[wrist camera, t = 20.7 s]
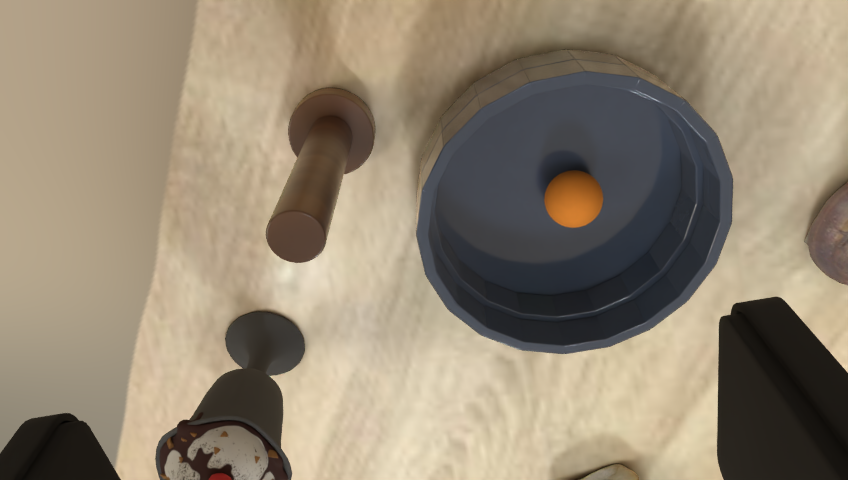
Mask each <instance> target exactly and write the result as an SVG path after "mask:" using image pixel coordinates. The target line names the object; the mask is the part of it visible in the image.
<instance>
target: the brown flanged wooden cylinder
mask: <svg viewBox="0 0 848 480" xmlns="http://www.w3.org/2000/svg"><path fill="white" fill-rule="evenodd" d="M288 135H289V141H290V145H291V147H292V150H293V152H294V153H295V155H296V156H297V160H296V162H295V165H294V167H293V169H292V171H291V174H290V176H289V178H288V180H287V183H286V185H285V187H284V189H283V192H282V194H281V196H280V198H279V201H278V203H277V205H276V207H275V210H274V212H273V214H272V216H271V219H270V221H269V223H268V225H267V229H266V239H267V242H268V244H269V246H270V248H271V250H272V251H273V252H274V253H275V254H276V255H277V256H279V257H280V258H282V259H284V260H286V261H289V262H295V263H302V262H307V261H310V260H312V259H314V258H316V257H317V256H318V255H319V254H320V253H321V252H322V251H323V249H324V247H325V244H326V240H327V236H328V232H329V228H330V225H331V221H332V217H333V213H334V209H335V205H336V202H337V198H338V194H339V190H340V186H341V182H342V179H343V175H344V174H347V173H350V172H352V171H354V170H356V169H357V168H359V167H360V166H361V165H362V164H363V163H364V162H365V161H366V160H367V159H368V157H369V155H370V154H371V151H372V148H373V144H374V139H375V123H374V119H373V116H372V114H371V112H370V110H369V108H368V107H367V106H366V104H365V103H364V102H363V101H362V100H361V99H360V98H358V97H357V96H356V95H354V94H352V93H350V92H348V91H345V90H342V89H337V88H325V89H320V90H317V91H314V92H312V93H310V94H309V95H307V96H306V97H305V98H303V99H302V101H301V102H300V103H299V104H298V106H297V107H296V109H295V111H294V113H293V115H292V117H291V119H290V122H289V128H288Z"/></svg>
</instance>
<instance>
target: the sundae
mask: <svg viewBox="0 0 848 480" xmlns="http://www.w3.org/2000/svg"><path fill="white" fill-rule="evenodd" d="M225 340H226V347H227V351H228V352H229V354H230V356H231V357H232V359H233V360H234V361H235V362H236V363H237V364H238V365H239V366H241V367H242V368H243V369H236V370H233V371H230V372H227V373H225V374H224V375H222V376H221V377H220V378H218V379H217V381H216V382H215V383H214V384H213V386H212V387H211V388H210V389H209V391H208V392H207V393H206V395H205V397H204V398H203V400H202V401H201V403H200V405H199V406H198V408H197V410H196V411H195V413H194V414H193V416H192V417H191V418H190V420H182V421H180V422H179V424H178V425H177V427H176V428H174V429H173V430H171V431H169V432H168V433H166V434H165V435H164V436H162V438H161V439H160V441H159V443H158V446H157V449H156V458H155V459H156V467H157V471H158V475H159V478H160V480H291V477H292V470H291V466H290V463H289V461H288V458H287V457H286V455H285V454H284V452H283V451H282V449H281V433H282V422H283V397H282V393H281V390H280V388H279V386H278V385H277V383H276V382H275V381H274V380H273V379H272V378H271V377H269V376H271V375H278V374H282V373H285V372H288V371H290V370H291V369H293V368H294V367H295V366H296V365H297V364H298V363H299V362H300V361H301V359H302V357H303V354H304V351H305V344H304V339H303V337H302V335H301V333H300V331H299V330H298V328H297V327H296V326H295V325H294V324H293V323H291V322H290V321H289V320H287V319H286V318H284V317H282V316H279V315H276V314H273V313H269V312H253V313H249V314H246V315H243V316H241V317H239V318H238V319H236V320H235V321H234V322H233V323H232V324H231V325H230V326H229V328H228V331H227V334H226V338H225Z"/></svg>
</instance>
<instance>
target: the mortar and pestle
mask: <svg viewBox="0 0 848 480" xmlns="http://www.w3.org/2000/svg"><path fill="white" fill-rule="evenodd" d="M804 242H805V243H806V244H807V245H808V247H809V252H810V256H811V258H812V259H813V261H814V262H815V264H816V265H817V266H818V267H819V268H820V269H821V270H822V271H823V272H824V273H825V274H826V275H827V276H829V277H830V278H832V279H834V280H836V281H838V282H839V283H842V284H846V285H848V182H847V183H846V184H845V185H843V186H842V187H841V188H840V189H838V190H837V191H836V192H835V193H834V194H833V195H832V196H831V197H830V198H829V199H828V200H827V201H826V203H825V204H824V206H823V208H822V209H821V211H820V212H819V214H818V215H817V217H816V218H815V220H814V221H813V223H812V225H811V228H810V230H809V232H808V234H807V237H806V239H805V241H804Z"/></svg>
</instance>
